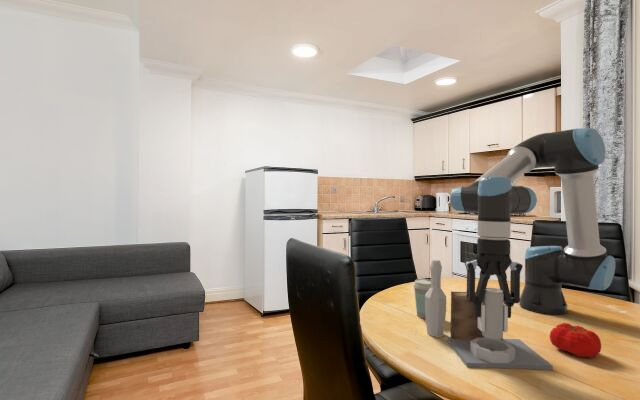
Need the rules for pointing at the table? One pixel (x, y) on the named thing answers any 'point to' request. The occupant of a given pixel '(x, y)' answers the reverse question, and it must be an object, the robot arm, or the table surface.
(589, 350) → the tomato
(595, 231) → the robot arm
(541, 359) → the socket board
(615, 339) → the table surface
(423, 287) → the coffee cup
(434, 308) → the low poly bottle
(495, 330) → the beverage can
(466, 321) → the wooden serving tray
